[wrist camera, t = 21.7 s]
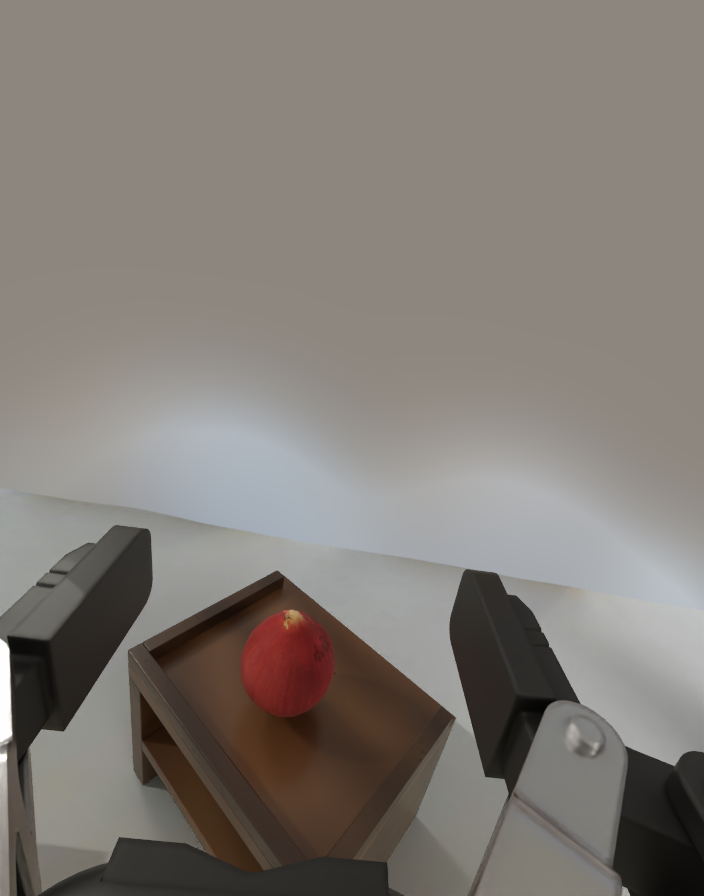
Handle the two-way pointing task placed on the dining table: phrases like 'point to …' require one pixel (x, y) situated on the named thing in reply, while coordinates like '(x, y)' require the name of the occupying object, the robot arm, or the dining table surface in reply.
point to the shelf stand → (281, 740)
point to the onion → (287, 663)
